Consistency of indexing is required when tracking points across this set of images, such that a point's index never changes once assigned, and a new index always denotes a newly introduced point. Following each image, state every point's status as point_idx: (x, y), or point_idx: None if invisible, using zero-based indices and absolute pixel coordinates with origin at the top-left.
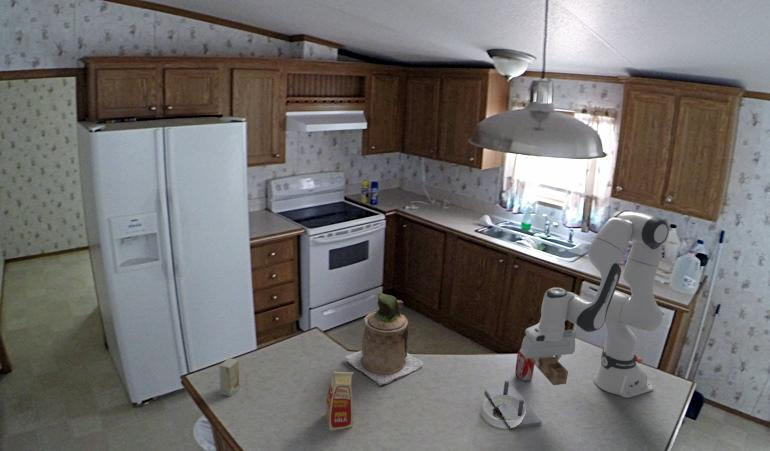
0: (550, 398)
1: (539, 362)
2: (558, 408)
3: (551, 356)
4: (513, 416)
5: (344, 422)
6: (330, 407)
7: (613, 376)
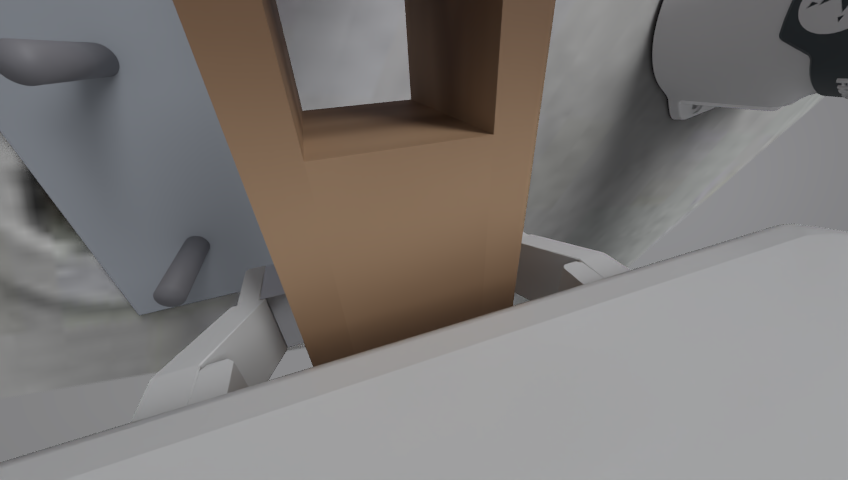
0: (408, 93)
1: (289, 337)
2: None
3: (489, 308)
4: (159, 257)
5: None
6: None
7: (745, 73)
